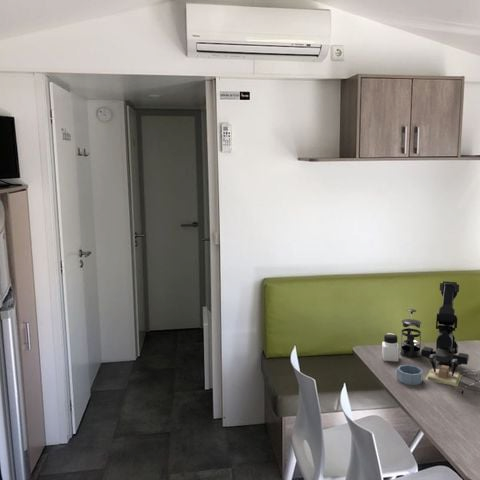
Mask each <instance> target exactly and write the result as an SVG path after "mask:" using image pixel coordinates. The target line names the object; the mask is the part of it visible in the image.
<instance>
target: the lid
mask: <svg viewBox="0 0 480 480" xmlns="http://www.w3.org/2000/svg"><path fill="white" fill-rule="evenodd" d="M431 369H432V371H431V372H430V374H429V376H428V379H429V380H434V381H439V382H444V383H448V384H453V385H455V384H456V382H457V380H458V377H459V374H460V372H456V371H455V373H454V375H453V376H452V370H450V367H449V366H445V365H440V368H436V372H434V370H433V368H431ZM429 380H428V381H429ZM434 381H433V382H434ZM448 384H447V385H448Z"/></svg>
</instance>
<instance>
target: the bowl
mask: <svg viewBox="0 0 480 480" xmlns="http://www.w3.org/2000/svg"><path fill="white" fill-rule="evenodd" d="M396 379H397V381H398V382H400V383H402V384H404V385H407V386H408V385H409V386H418V385H420V384H423V380H424V369H423V368H421V367H419V366H417V365H412V364H402V365H399V366H398V367H397V369H396Z"/></svg>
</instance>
